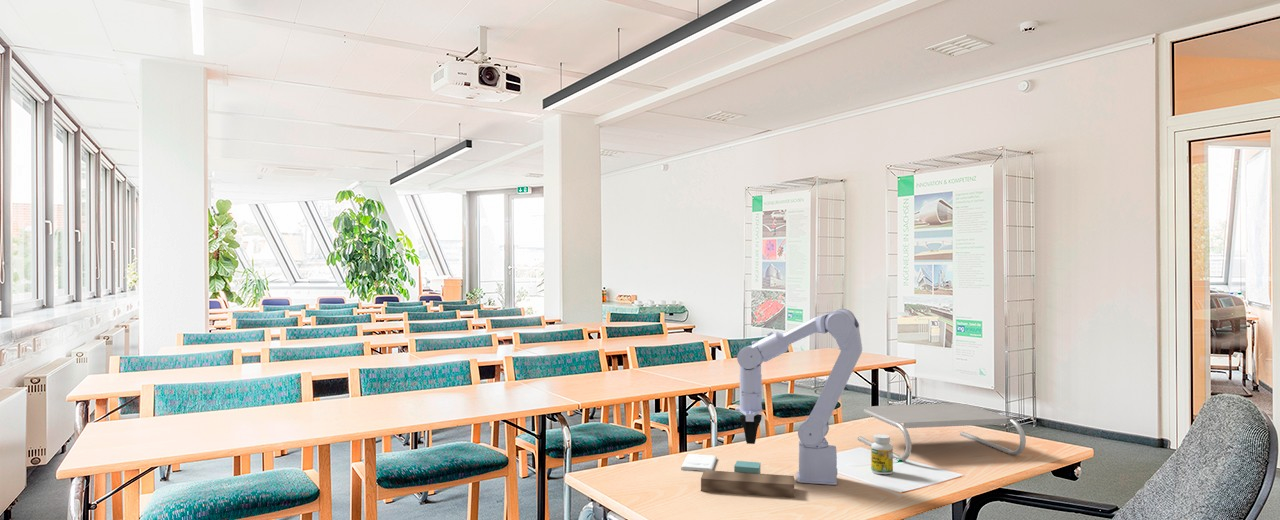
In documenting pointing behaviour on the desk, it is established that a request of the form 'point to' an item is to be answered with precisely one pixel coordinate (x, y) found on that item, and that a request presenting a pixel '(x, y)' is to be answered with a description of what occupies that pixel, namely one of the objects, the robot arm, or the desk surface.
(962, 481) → the desk surface
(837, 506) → the desk surface
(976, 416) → the monitor stand
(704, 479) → the walnut board
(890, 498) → the desk surface
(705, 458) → the external hard drive
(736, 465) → the teal block
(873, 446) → the supplement bottle
